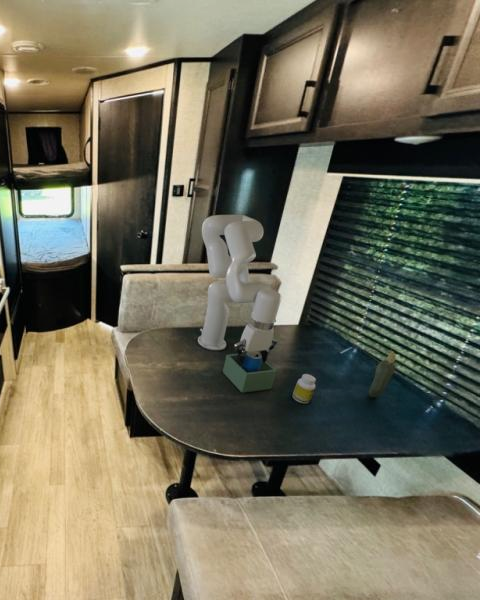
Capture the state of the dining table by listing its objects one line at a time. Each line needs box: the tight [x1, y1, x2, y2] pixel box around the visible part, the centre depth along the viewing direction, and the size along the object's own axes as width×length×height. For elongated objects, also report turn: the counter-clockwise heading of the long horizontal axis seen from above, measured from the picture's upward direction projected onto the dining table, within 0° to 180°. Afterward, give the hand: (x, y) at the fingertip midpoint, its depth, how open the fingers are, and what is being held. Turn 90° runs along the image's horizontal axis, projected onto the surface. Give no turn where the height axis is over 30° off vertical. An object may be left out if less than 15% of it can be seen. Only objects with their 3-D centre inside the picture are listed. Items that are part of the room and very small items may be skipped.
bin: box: [222, 353, 278, 394], centre depth 123 cm, size 13×13×9 cm
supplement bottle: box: [291, 373, 317, 404], centre depth 113 cm, size 5×5×10 cm
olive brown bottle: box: [368, 349, 397, 398], centre depth 111 cm, size 4×4×20 cm
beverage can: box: [241, 351, 262, 373], centre depth 122 cm, size 6×6×12 cm
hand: (250, 361), depth 121 cm, fingers open, 9 cm apart
